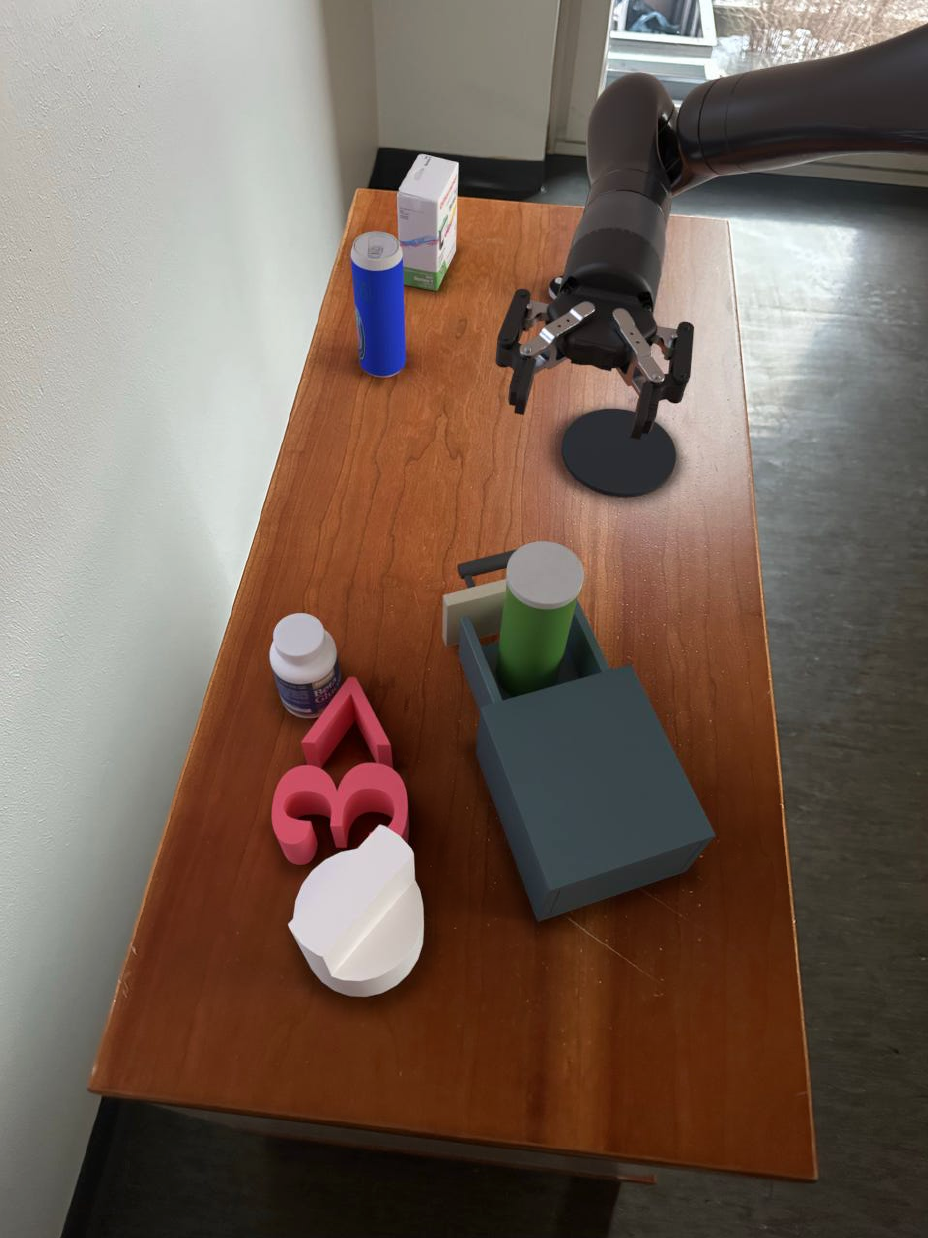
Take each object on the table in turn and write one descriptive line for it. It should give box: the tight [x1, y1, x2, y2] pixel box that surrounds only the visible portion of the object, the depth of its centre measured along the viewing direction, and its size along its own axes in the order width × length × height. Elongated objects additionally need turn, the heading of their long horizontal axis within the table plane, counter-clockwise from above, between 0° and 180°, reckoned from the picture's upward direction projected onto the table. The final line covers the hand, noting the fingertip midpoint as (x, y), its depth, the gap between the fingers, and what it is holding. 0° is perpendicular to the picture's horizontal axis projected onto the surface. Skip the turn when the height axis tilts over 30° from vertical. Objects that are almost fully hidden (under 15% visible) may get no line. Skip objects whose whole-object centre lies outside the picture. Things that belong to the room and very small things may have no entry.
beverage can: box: [350, 230, 407, 379], centre depth 94 cm, size 5×5×15 cm
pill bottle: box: [269, 612, 343, 719], centre depth 74 cm, size 5×5×10 cm
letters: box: [271, 676, 410, 866], centre depth 71 cm, size 14×10×5 cm
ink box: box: [396, 153, 460, 292], centre depth 104 cm, size 8×5×12 cm, turn 164°
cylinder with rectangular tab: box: [287, 824, 425, 998], centre depth 62 cm, size 9×9×12 cm
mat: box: [560, 408, 677, 498], centre depth 94 cm, size 12×12×1 cm
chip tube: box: [496, 540, 585, 697], centre depth 71 cm, size 6×6×15 cm
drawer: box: [441, 548, 612, 713], centre depth 76 cm, size 18×11×7 cm, turn 18°
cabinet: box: [475, 663, 716, 923], centre depth 69 cm, size 15×13×9 cm
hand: (578, 419), depth 63 cm, fingers open, 8 cm apart
